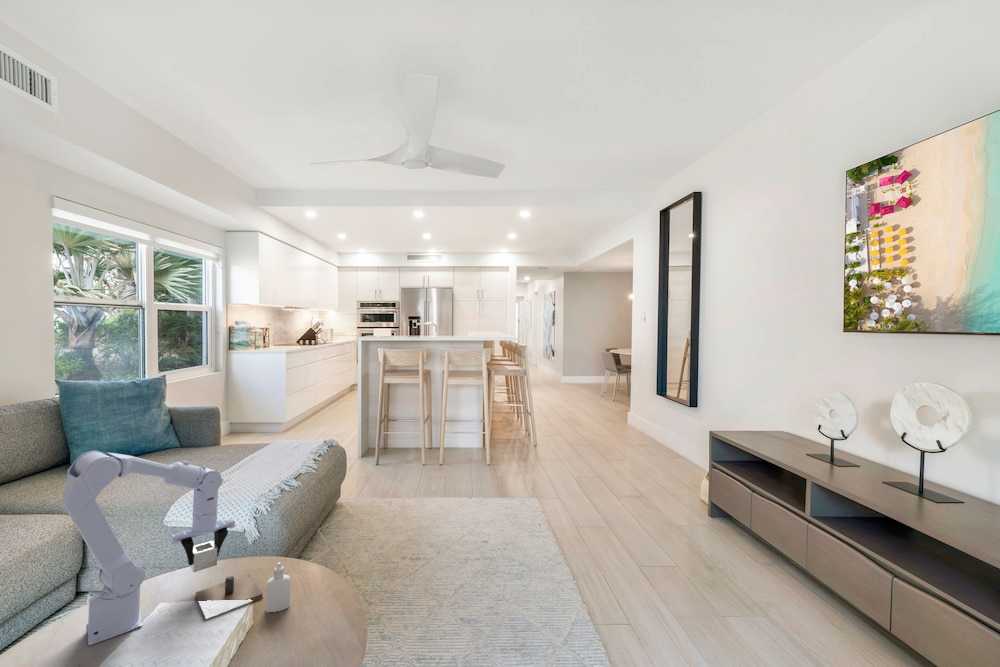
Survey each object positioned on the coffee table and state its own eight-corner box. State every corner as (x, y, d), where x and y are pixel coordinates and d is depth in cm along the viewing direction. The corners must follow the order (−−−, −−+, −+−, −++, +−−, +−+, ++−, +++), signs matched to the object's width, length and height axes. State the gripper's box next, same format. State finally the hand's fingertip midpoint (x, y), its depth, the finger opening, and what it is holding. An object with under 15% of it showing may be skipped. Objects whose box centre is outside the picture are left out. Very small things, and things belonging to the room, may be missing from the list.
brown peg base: (205, 620, 104) (206, 599, 104) (195, 596, 113) (196, 577, 113) (262, 597, 114) (263, 578, 114) (248, 578, 123) (249, 560, 123)
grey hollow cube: (193, 572, 113) (194, 554, 113) (189, 564, 116) (190, 547, 117) (216, 564, 117) (217, 547, 117) (212, 557, 120) (212, 540, 120)
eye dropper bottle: (272, 602, 112) (273, 558, 112) (292, 603, 111) (293, 559, 112) (262, 613, 107) (263, 567, 107) (283, 614, 107) (285, 568, 107)
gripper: (230, 500, 125) (229, 545, 125) (170, 514, 114) (168, 563, 114) (237, 507, 120) (235, 554, 120) (175, 523, 109) (173, 574, 109)
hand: (203, 559), depth 117 cm, fingers closed on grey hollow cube, 5 cm apart
